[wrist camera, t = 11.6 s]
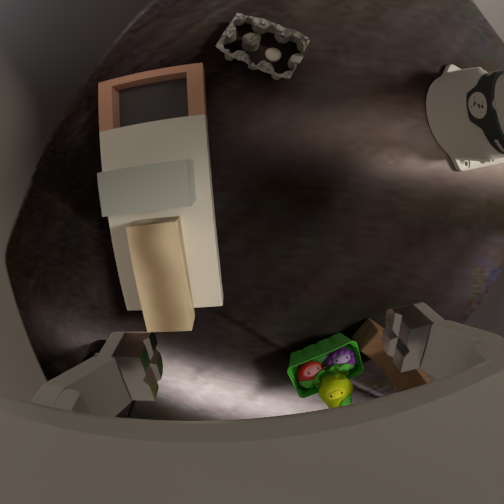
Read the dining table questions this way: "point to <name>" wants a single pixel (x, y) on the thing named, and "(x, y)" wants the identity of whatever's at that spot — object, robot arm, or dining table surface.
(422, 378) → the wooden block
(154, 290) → the maple bar
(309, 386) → the fruit basket
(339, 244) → the dining table surface
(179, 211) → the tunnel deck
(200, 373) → the dining table surface
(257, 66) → the egg carton
